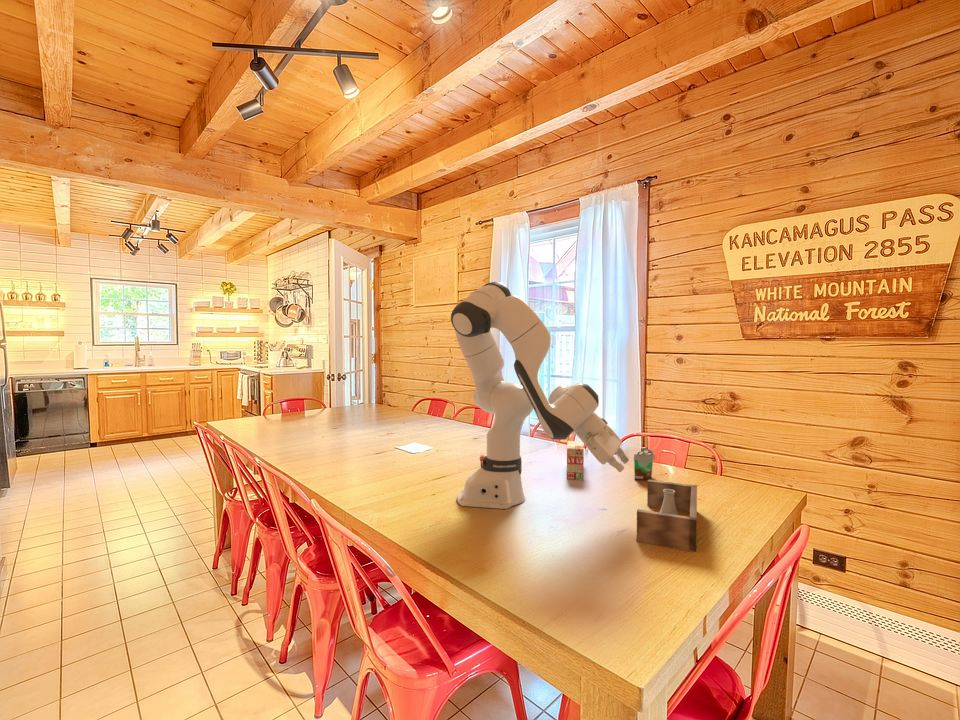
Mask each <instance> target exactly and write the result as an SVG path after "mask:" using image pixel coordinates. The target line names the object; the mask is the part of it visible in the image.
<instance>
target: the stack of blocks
mask: <svg viewBox="0 0 960 720" xmlns="http://www.w3.org/2000/svg"><path fill="white" fill-rule="evenodd" d="M566 442H567V444H566V464H567V465H566V480H572V481H584V464H585V463H584V461H585V460H584V458H585V456H584V455H585V454H584V453H585V451H584V450H585V449H584V443H583V442H582V441H581V440H579V441H578V440H567V441H566Z"/></svg>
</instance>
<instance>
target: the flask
mask: <svg viewBox="0 0 960 720" xmlns="http://www.w3.org/2000/svg"><path fill="white" fill-rule="evenodd" d="M663 492H664V500H663V504H662V507H661V508H660V510H659V512H660V513H667V514H674V515H679V512H678V510H677V509H676V506H675V501H674V494H675V491H674V490H671V489H664V490H663Z"/></svg>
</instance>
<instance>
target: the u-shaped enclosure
mask: <svg viewBox="0 0 960 720" xmlns="http://www.w3.org/2000/svg"><path fill="white" fill-rule="evenodd" d="M664 489H671V490H674V491H675V494H674V501H675V506H676V509H677V511H679V512H685V513H686V512H687V513H689V516H687V515H680V514H678V515H674V514H667V513H660V511H651V510H646V509H639V508H638V509H636V542H639V543H645V544H649V545H657V546H662V547H666V548H671V549H673V548H674V549H678V550H683V551H684V550H685V551H691V552H697V528H698V527H697V525H698V524H697V522H698V521H697V515H698V514H697V511H698V485H694V484H687V483H686V484H685V483H680V482H679V483H678V482H670V481H664V480H655V479H654V480H653V479H650V480H647V499H646V501H647V504H646V505H647V507H651V508H652V507H653V508H660V509H661V507H662V504H663V500H664V492H663V490H664Z"/></svg>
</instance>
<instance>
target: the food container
mask: <svg viewBox="0 0 960 720" xmlns="http://www.w3.org/2000/svg"><path fill="white" fill-rule="evenodd" d="M636 453H637V454H633V460H634V463H633V465H634V466H633V469H634V481H638V482H639V481H642V482H643V481H648V480H652V475H653V464H654V460H655V458H656V457H655V456H656V455H655V453H654V451H653V450H651V449H649V448H645V447H644V448H643V447H641V448H640V451H639V452H636Z"/></svg>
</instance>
